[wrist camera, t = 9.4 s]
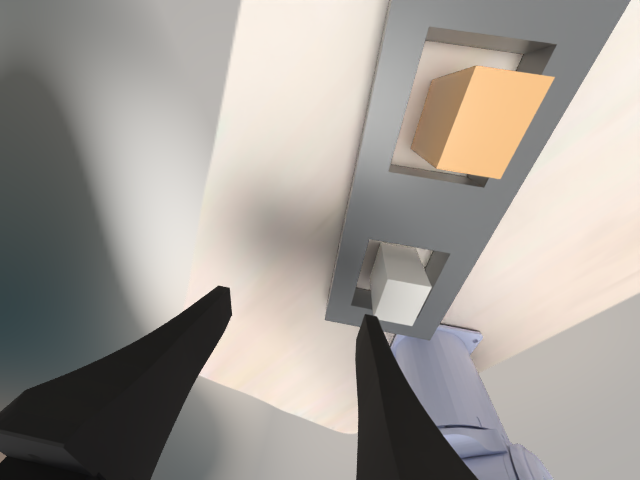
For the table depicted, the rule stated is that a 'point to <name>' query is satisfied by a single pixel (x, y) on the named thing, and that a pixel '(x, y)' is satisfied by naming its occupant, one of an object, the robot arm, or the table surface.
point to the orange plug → (478, 119)
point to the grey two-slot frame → (446, 189)
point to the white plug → (398, 284)
